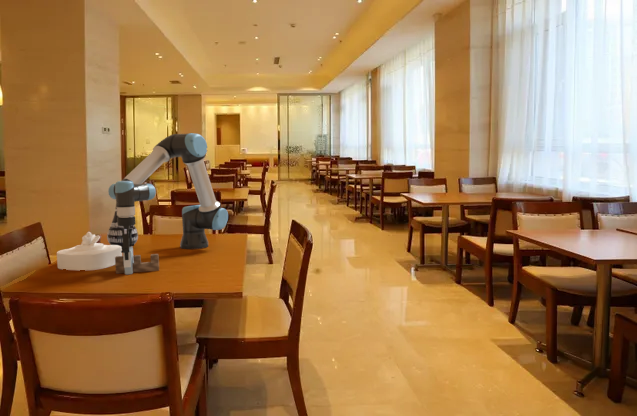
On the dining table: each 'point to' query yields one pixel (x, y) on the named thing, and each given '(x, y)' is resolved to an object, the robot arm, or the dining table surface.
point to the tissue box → (88, 255)
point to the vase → (119, 233)
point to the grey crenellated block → (138, 264)
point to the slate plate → (130, 269)
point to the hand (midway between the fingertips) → (128, 264)
